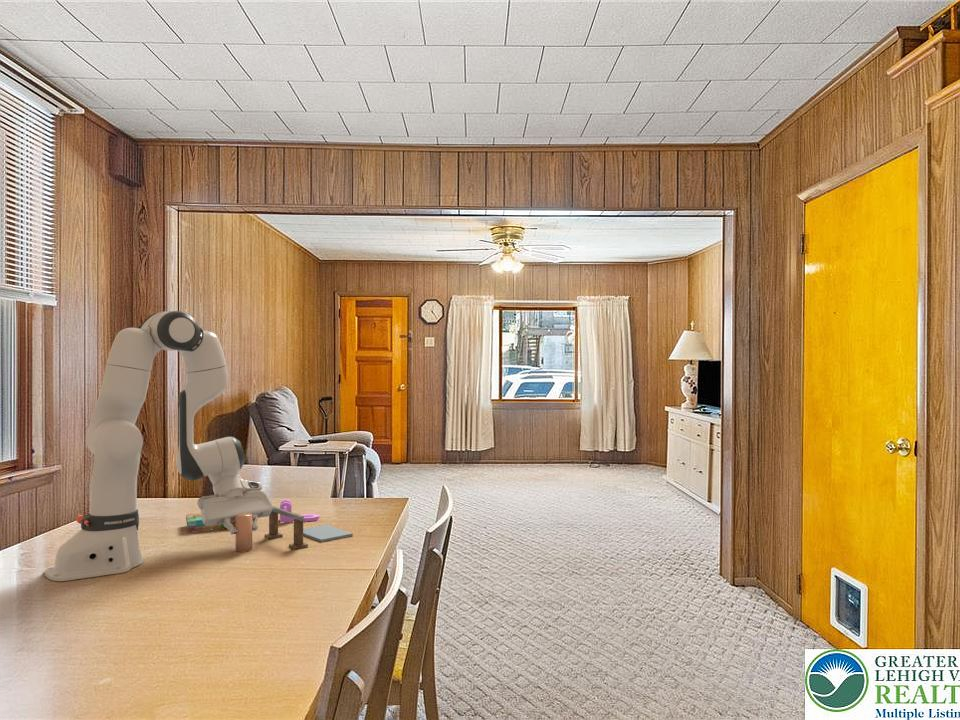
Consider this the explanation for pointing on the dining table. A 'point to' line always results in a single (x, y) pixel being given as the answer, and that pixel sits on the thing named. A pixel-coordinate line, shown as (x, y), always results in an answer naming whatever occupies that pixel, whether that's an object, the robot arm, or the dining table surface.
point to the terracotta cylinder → (244, 532)
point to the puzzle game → (201, 523)
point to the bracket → (287, 503)
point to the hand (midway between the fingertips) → (244, 531)
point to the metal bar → (288, 514)
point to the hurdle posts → (297, 531)
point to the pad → (325, 533)
